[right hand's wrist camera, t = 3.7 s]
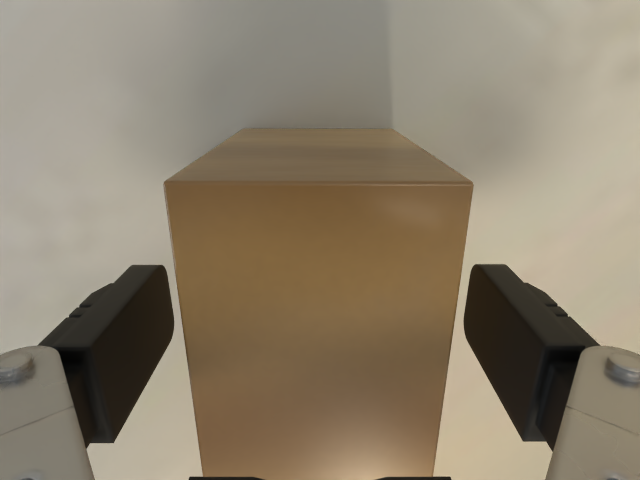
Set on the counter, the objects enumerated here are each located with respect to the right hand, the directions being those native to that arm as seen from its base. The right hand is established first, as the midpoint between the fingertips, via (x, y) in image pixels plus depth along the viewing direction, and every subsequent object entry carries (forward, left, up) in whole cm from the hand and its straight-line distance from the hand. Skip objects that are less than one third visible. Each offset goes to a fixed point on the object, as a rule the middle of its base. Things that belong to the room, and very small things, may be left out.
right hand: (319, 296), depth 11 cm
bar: (-9, +3, -6) cm, 11 cm away
